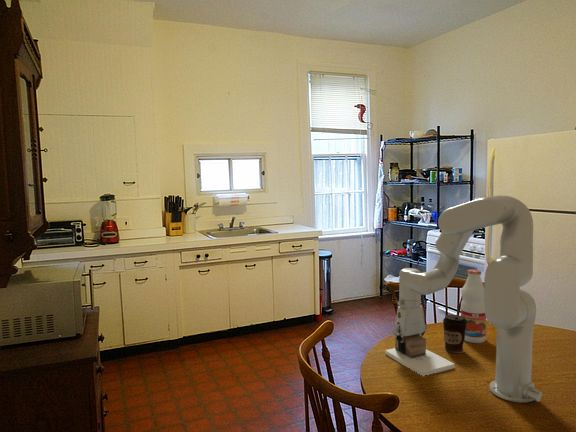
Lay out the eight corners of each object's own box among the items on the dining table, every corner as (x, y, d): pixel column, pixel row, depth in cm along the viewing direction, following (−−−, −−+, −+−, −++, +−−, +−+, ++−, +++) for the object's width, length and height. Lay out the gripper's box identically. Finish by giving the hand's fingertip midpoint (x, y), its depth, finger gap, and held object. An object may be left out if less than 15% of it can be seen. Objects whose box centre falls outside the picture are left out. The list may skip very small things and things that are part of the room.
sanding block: (425, 355, 154) (426, 338, 154) (411, 358, 152) (411, 342, 151) (409, 346, 162) (409, 330, 162) (395, 349, 160) (395, 333, 159)
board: (454, 368, 147) (454, 363, 147) (422, 376, 141) (422, 372, 141) (414, 347, 165) (414, 343, 165) (385, 354, 159) (385, 350, 159)
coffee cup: (462, 357, 156) (463, 322, 154) (439, 351, 161) (439, 318, 159) (468, 349, 162) (469, 315, 161) (446, 344, 167) (447, 311, 166)
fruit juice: (484, 336, 175) (486, 268, 172) (486, 344, 166) (488, 273, 163) (459, 333, 178) (461, 267, 176) (460, 342, 169) (461, 272, 167)
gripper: (397, 309, 149) (397, 358, 150) (435, 302, 156) (435, 349, 157) (384, 303, 156) (384, 351, 157) (421, 296, 163) (421, 342, 164)
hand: (409, 349), depth 157 cm, fingers closed on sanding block, 6 cm apart
